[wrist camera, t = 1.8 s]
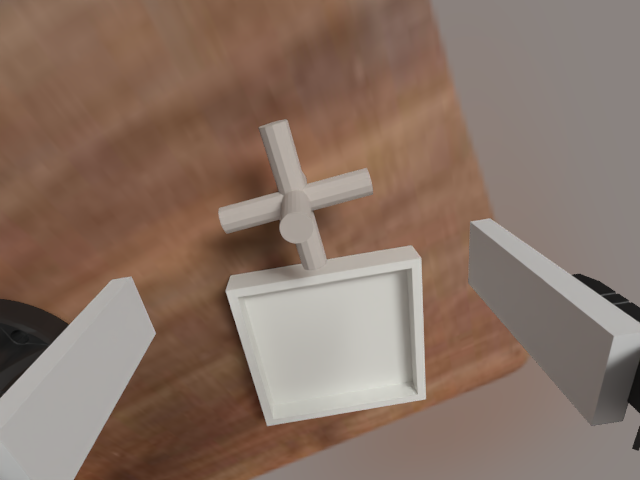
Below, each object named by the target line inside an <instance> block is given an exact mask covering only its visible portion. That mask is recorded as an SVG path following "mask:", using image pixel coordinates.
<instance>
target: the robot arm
mask: <svg viewBox="0 0 640 480" xmlns="http://www.w3.org/2000/svg"><path fill="white" fill-rule="evenodd" d="M468 283H469V284H470V286H471V287H472V288H473V289H474V290H475V291H476V293H477V294H478V295H479V296H480V297H481V298H482V300H483V301H484V302H485V303H486V304H487V305H488V307H489V308H490V309H491V310H492V311H493V312H494V314H495V315H496V316H497V317H498V318H499V319H500V320H501V322H502V323H503V324H504V325H505V326H506V327H507V329H508V330H509V331H510V332H511V333H512V334H513V336H514V337H515V338H516V339H517V340H518V341H519V343H520V344H521V345H522V346H523V347H524V348H525V350H526V351H527V352H528V353H529V354H530V355H531V356H532V358H533V359H534V360H535V361H536V362H537V363H538V365H539V366H540V367H541V368H542V369H543V370H544V371H545V373H546V374H547V375H548V376H549V377H550V379H551V380H552V381H553V382H554V383H555V384H556V386H558V388H559V389H560V390H561V391H562V392H563V394H564V395H565V396H566V397H567V398H568V399H569V401H570V402H571V403H572V404H573V405H574V406H575V408H576V409H577V410H578V411H579V412H580V413H581V415H582V416H583V417H584V418H585V419H586V420H587V422H588V423H589V424H590V425H591V426H595V425H602V424H608V423H614V422H619V421H623V419H624V416H625V413H626V409H627V406H628V403H630V404H631V405H632V406H633V407H634V408H635V409H636V410H637V411H638V412H639V413H640V308H639V307H638V306H637V305H635V304H634V303H629V300H627V299H626V298H624V297H623V296H621V295H620V294H616V293H615V291H613V290H612V289H611V288H609V287H607V286H606V285H604V284H603V283H601V282H600V281H597V280H595V279H592V278H589V277H587V276H584V275H581V274H574V275H570V274H569V273H568V272H566V271H565V270H563V269H562V268H560V267H559V266H557V265H556V264H554V263H553V262H552V261H550V260H549V259H547V258H546V257H545V256H543V255H542V254H540V253H539V252H537V251H536V250H534V249H533V248H532V247H530V246H529V245H527V244H526V243H525V242H523V241H522V240H520V239H519V238H517V237H516V236H514V235H513V234H512V233H510V232H509V231H507V230H506V229H504V228H503V227H502V226H500V225H499V224H497V223H496V222H494V221H493V220H492V219H484V220H478V221H472V222H470V246H469V278H468ZM155 334H156V332H155V330H154V328H153V325H152V323H151V321H150V319H149V316H148V314H147V312H146V309H145V307H144V305H143V302H142V300H141V298H140V295H139V293H138V291H137V288H136V286H135V284H134V281H133V279H132V277H126V278H120V279H113V280H111V281H110V282H109V283H108V284H107V285H106V286H105V287H104V289H103V290H102V291H101V292H100V293H99V294H98V295H97V296H96V297H95V298H94V299H93V300H92V301H91V302H90V303H89V304H88V306H87V307H86V308H85V309H84V310H83V311H82V312H81V313H80V314H79V315H78V316H77V317H76V318H75V319H74V320H73V321H72V323H71V324H70V325H68V324H67V323H65V322H64V321H62V320H61V319H59V318H57V317H56V316H54V315H52V314H50V313H48V312H46V311H44V310H41V309H39V308H36V307H34V306H31V305H28V304H24V303H20V302H16V301H11V300H5V299H0V480H74V478H75V476H76V475H77V473H78V471H79V469H80V467H81V466H82V464H83V462H84V460H85V459H86V457H87V455H88V453H89V451H90V450H91V448H92V446H93V444H94V443H95V441H96V439H97V437H98V435H99V434H100V432H101V430H102V428H103V427H104V425H105V423H106V421H107V419H108V418H109V416H110V414H111V412H112V411H113V409H114V407H115V405H116V403H117V402H118V400H119V398H120V396H121V395H122V393H123V391H124V389H125V387H126V386H127V384H128V382H129V380H130V379H131V377H132V375H133V373H134V371H135V370H136V368H137V366H138V364H139V363H140V361H141V359H142V357H143V355H144V354H145V352H146V350H147V348H148V347H149V345H150V343H151V341H152V339H153V338H154V336H155ZM639 448H640V426H639V429H638V432H637V436H636V438H635V441H634V445H633V448H632V449H635V450H639Z"/></svg>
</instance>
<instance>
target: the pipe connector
mask: <svg viewBox="0 0 640 480" xmlns="http://www.w3.org/2000/svg"><path fill="white" fill-rule="evenodd" d="M259 131H260V134H261V137H262V141H263V144H264V147H265V150H266V153H267V156H268V159H269V162H270V166H271V169H272V172H273V175H274V178H275V181H276V184H277V188H278V191H279V192H276V193H273V194H269V195H265V196H262V197H258V198H254V199H251V200H247V201H243V202H240V203H236V204H232V205H229V206H225V207H221V208H219V212H218V213H219V219H220V222H221V225H222V227H223V229H224V231H225V232H226V233H227V234H228V233H231V232H235V231H239V230H242V229H246V228H250V227H254V226H257V225H261V224H265V223H268V222H272V221H276V220H280V233H281V235H282V237H283V238H284V239H285V240H287V241H288V242H291V243H295V244H296V247H297V250H298V253H299V257H300V260H301V263H302V266H303V268H304V269H305V270H309V271H310V270H316V269H319V268H321V267H323V266H324V265H325V264H326V262H327V259H326V255H325V252H324V248H323V244H322V241H321V237H320V234H319V230H318V227H317V223H316V220H315V216H314V213H313V210H317V209H320V208H324V207H328V206H331V205H335V204H339V203H343V202H346V201H350V200H354V199H357V198H361V197H365V196H368V195H372V194H373V188H372V183H371V179H370V175H369V172H368V170H367V168H364V169H361V170H357V171H353V172H350V173H346V174H342V175H339V176H335V177H331V178H328V179H324V180H320V181H317V182H313V183H309V184H307V180H306V176H305V175H304V173H303V172H302V170H301V167H300V163H299V160H298V156H297V152H296V149H295V145H294V142H293V138H292V135H291V131H290V128H289V124H288V121H287V120H286V119H285V120H280V121H276V122H272V123H269V124H266V125H263V126H261V127H259Z"/></svg>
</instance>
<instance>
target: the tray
mask: <svg viewBox="0 0 640 480" xmlns="http://www.w3.org/2000/svg"><path fill="white" fill-rule="evenodd" d="M226 294H227V297H228V300H229V304H230V307H231V310H232V313H233V317H234V320H235V323H236V326H237V330H238V333H239V336H240V339H241V343H242V346H243V349H244V352H245V356H246V359H247V362H248V365H249V369H250V372H251V375H252V378H253V382H254V385H255V388H256V391H257V395H258V398H259V401H260V404H261V407H262V411H263V414H264V417H265V420H266V424H267V426H271V425H277V424H283V423H289V422H294V421H300V420H306V419H312V418H318V417H324V416H330V415H336V414H341V413H347V412H353V411H359V410H365V409H371V408H377V407H383V406H389V405H394V404H400V403H406V402H412V401H418V400H424V399H426V388H425V358H424V327H423V297H422V267H421V257H420V256H419V254H418V253H417V252H416V250H415V249H414V248H413V246H412V245H410V246H404V247H398V248H392V249H386V250H380V251H374V252H368V253H363V254H357V255H351V256H345V257H339V258H333V259H327V262H326V264H325V265H324V266H323V267H321V268H319V269H316V270H310V271H309V270H305V269H304V268H303V266H302V264H297V265H291V266H285V267H279V268H273V269H267V270H261V271H255V272H249V273H243V274H237V275H231V276H230V279H229V282H228V285H227V288H226Z"/></svg>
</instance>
